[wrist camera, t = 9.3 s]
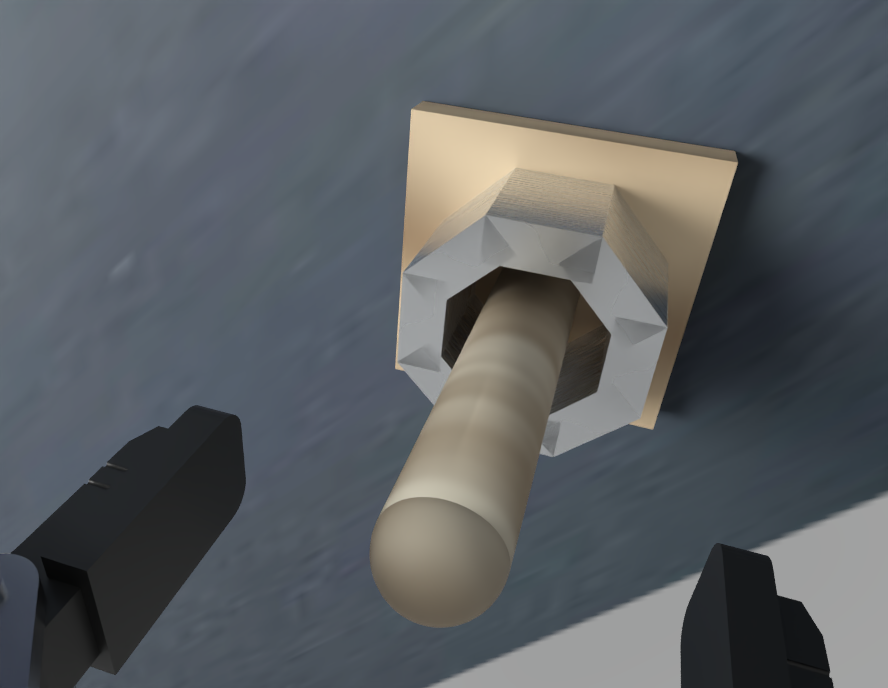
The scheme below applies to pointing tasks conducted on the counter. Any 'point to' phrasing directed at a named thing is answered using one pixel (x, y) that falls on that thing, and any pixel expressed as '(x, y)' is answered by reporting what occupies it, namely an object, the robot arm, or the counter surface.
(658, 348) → the ring
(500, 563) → the post stand
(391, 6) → the counter surface
